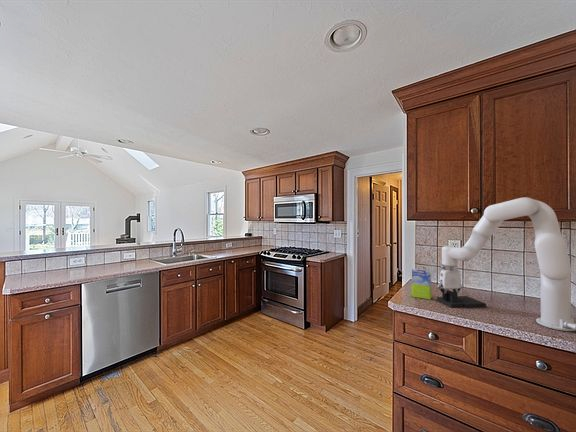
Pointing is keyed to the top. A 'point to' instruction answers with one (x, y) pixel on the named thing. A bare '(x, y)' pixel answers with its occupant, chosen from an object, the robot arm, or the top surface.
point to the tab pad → (451, 300)
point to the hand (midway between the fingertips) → (449, 299)
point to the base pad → (470, 302)
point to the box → (421, 284)
